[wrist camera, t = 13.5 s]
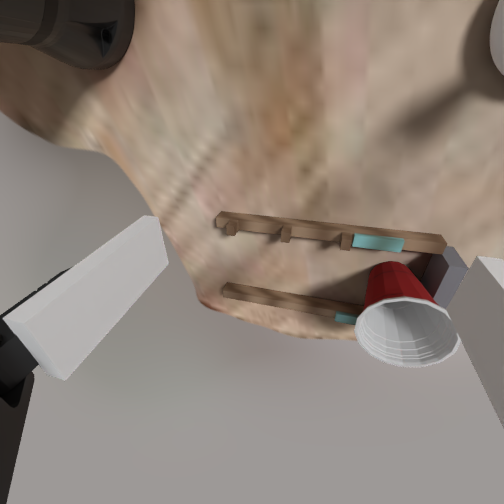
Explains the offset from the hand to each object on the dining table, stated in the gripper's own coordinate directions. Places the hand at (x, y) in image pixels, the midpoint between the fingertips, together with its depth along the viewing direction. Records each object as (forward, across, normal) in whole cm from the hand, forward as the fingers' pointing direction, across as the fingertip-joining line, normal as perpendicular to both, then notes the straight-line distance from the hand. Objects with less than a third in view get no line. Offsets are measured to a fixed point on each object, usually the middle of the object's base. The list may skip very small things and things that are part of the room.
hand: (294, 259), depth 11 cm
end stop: (+26, +18, -19) cm, 37 cm away
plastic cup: (+26, +13, -18) cm, 34 cm away
